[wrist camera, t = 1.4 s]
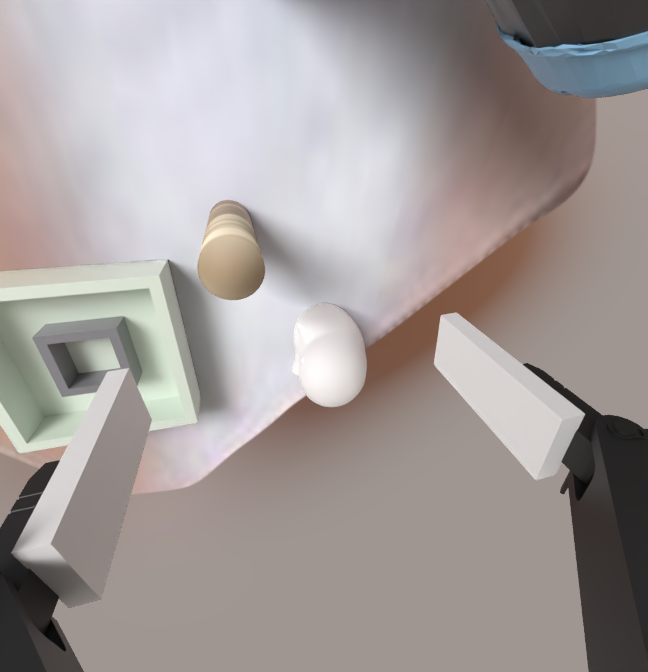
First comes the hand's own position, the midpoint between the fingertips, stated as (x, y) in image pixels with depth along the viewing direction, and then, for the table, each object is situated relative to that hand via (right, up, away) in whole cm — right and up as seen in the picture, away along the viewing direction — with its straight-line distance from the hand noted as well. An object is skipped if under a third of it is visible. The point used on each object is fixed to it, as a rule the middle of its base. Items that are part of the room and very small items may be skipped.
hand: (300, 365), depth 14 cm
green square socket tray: (-21, 0, +19) cm, 28 cm away
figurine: (0, +2, +24) cm, 24 cm away
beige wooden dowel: (-7, +12, +16) cm, 21 cm away
